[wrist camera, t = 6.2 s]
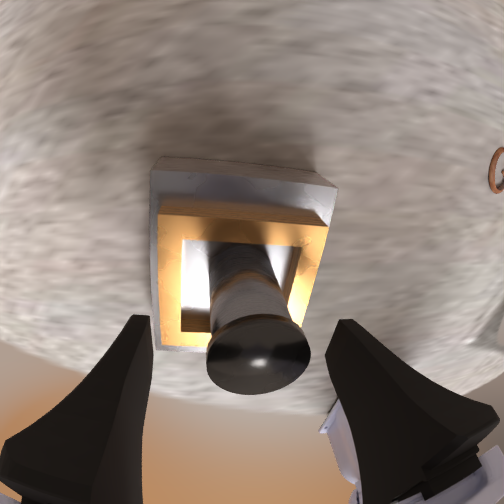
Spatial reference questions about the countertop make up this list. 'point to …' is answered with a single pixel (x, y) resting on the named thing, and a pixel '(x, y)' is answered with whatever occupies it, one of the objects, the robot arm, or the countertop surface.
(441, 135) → the countertop surface
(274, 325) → the peg
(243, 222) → the chuck block
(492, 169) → the key
